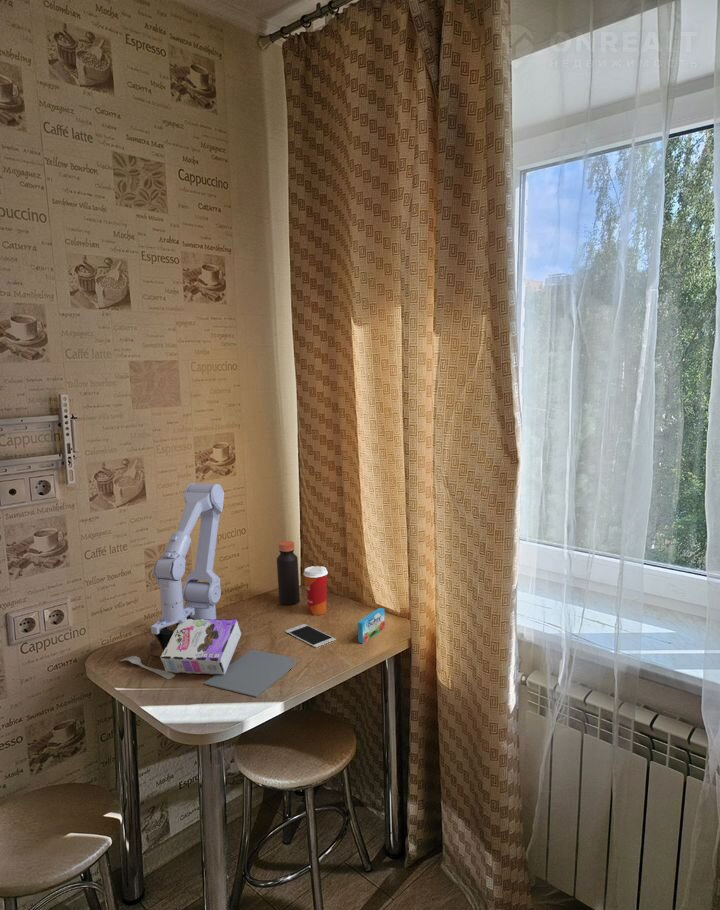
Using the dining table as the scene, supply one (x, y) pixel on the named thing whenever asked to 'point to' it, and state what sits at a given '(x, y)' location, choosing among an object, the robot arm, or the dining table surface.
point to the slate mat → (252, 673)
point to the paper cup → (316, 589)
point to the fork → (138, 661)
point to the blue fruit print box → (371, 625)
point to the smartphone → (310, 635)
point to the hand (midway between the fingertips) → (176, 648)
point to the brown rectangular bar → (156, 648)
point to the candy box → (201, 646)
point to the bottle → (288, 574)
